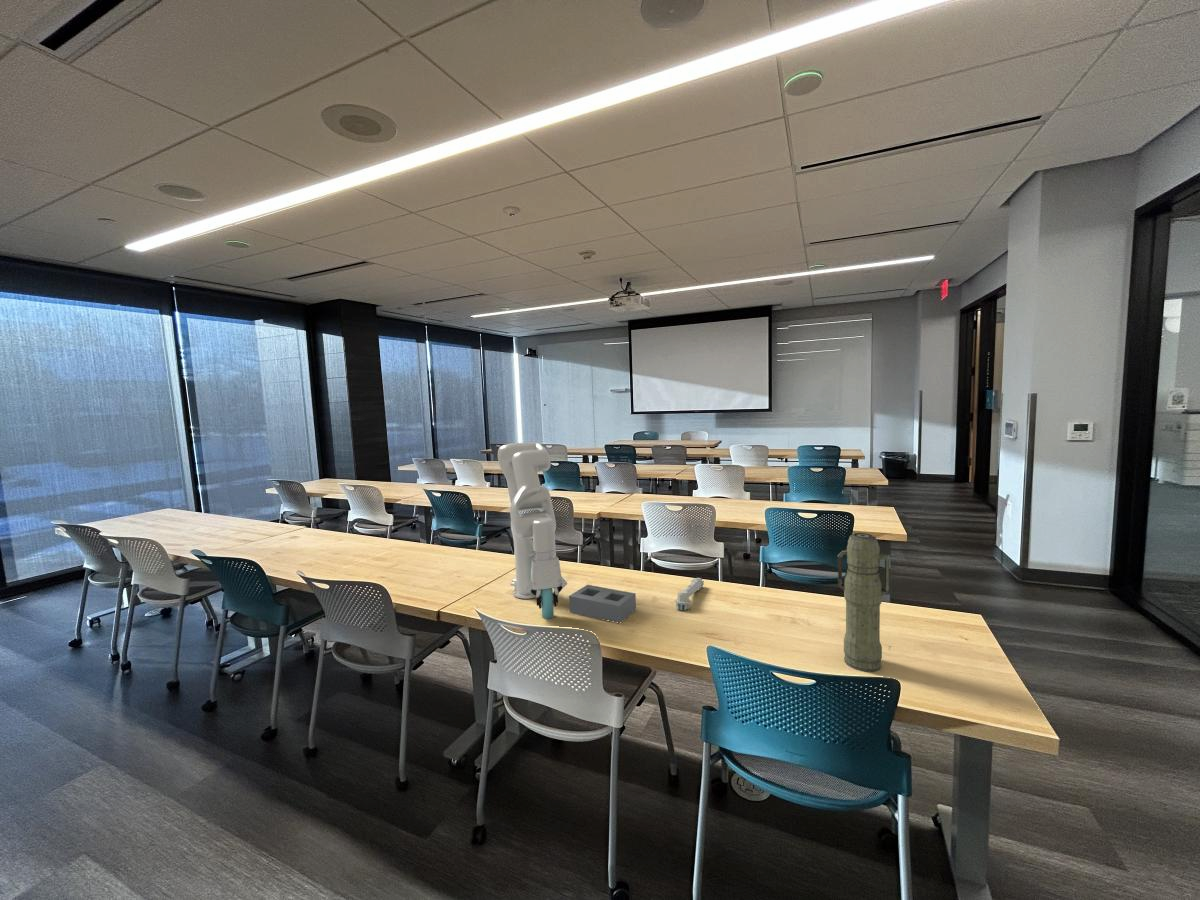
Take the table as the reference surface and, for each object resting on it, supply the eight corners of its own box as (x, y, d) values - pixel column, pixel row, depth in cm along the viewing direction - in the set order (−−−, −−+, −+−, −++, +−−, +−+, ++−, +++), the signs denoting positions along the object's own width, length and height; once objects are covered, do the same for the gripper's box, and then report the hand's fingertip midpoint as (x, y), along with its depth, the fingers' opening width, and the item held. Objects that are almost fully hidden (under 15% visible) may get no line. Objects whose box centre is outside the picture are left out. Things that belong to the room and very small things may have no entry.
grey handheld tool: (705, 577, 188) (687, 591, 165) (705, 595, 187) (687, 611, 165) (692, 576, 190) (673, 589, 167) (692, 593, 190) (672, 609, 167)
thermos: (836, 651, 135) (836, 529, 132) (884, 658, 131) (885, 532, 128) (838, 667, 127) (838, 538, 124) (890, 675, 123) (891, 541, 120)
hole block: (569, 612, 169) (569, 595, 169) (588, 600, 179) (587, 584, 179) (619, 623, 159) (618, 606, 158) (636, 610, 169) (635, 593, 168)
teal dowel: (539, 617, 166) (538, 583, 165) (547, 613, 169) (545, 580, 168) (549, 619, 164) (547, 585, 163) (556, 615, 167) (554, 581, 166)
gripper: (520, 560, 159) (523, 613, 161) (571, 554, 163) (573, 607, 165) (519, 554, 167) (522, 605, 168) (567, 548, 170) (569, 598, 172)
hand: (547, 605), depth 166 cm, fingers open, 4 cm apart
